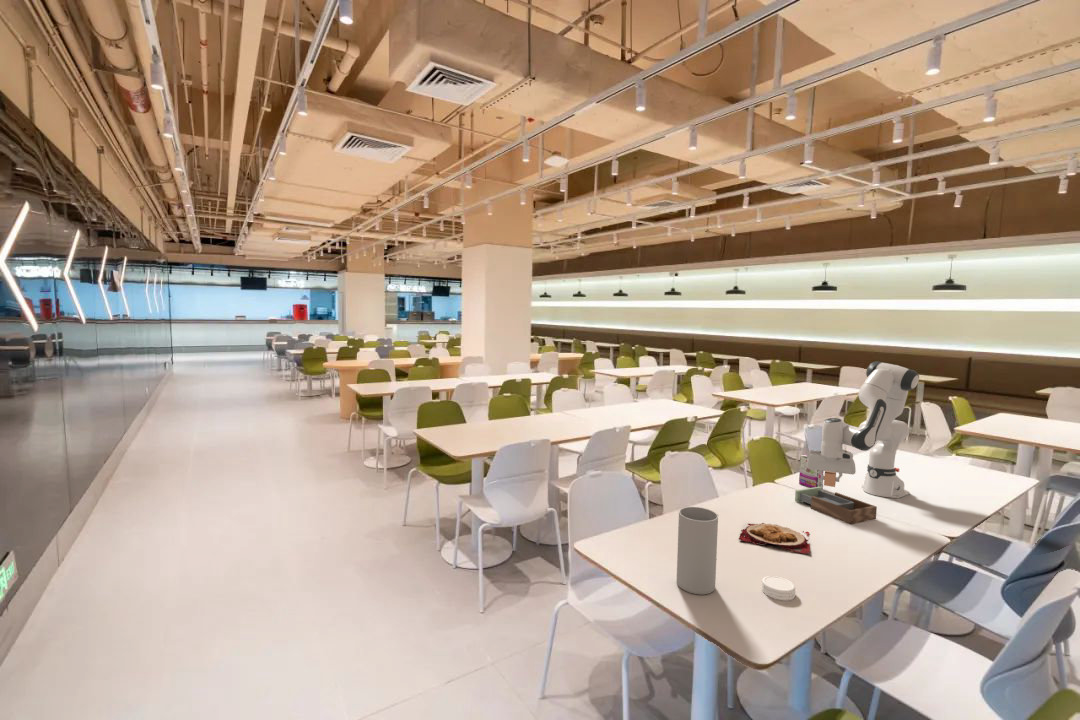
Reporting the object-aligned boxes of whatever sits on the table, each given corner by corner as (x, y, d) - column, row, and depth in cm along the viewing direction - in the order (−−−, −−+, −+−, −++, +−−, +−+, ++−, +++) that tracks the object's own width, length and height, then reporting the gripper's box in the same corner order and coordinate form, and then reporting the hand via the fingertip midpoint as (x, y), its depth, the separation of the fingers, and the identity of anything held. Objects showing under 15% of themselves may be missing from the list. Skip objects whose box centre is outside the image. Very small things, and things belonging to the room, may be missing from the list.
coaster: (785, 585, 169) (785, 575, 169) (801, 601, 159) (801, 591, 159) (756, 585, 169) (756, 575, 169) (770, 601, 159) (771, 591, 159)
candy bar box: (823, 489, 267) (824, 459, 266) (817, 490, 265) (818, 460, 264) (804, 482, 278) (806, 454, 276) (798, 483, 275) (799, 454, 274)
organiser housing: (835, 504, 245) (836, 492, 244) (875, 519, 226) (876, 506, 226) (810, 508, 239) (811, 496, 238) (850, 524, 220) (850, 511, 220)
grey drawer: (819, 497, 253) (819, 486, 253) (856, 511, 235) (856, 499, 235) (794, 501, 247) (795, 490, 247) (830, 515, 229) (831, 504, 229)
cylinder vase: (721, 585, 168) (724, 513, 166) (705, 600, 159) (708, 524, 157) (686, 572, 176) (688, 504, 174) (669, 586, 167) (672, 514, 165)
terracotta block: (835, 484, 239) (836, 472, 239) (835, 487, 235) (835, 474, 235) (824, 482, 242) (825, 470, 241) (823, 485, 238) (824, 473, 237)
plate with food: (809, 558, 190) (810, 549, 190) (738, 541, 202) (738, 533, 202) (809, 535, 211) (809, 527, 211) (744, 522, 223) (744, 514, 223)
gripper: (806, 450, 240) (805, 479, 240) (856, 456, 230) (855, 485, 231) (806, 448, 245) (805, 475, 246) (855, 453, 236) (854, 481, 237)
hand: (829, 480), depth 238 cm, fingers closed on terracotta block, 5 cm apart
